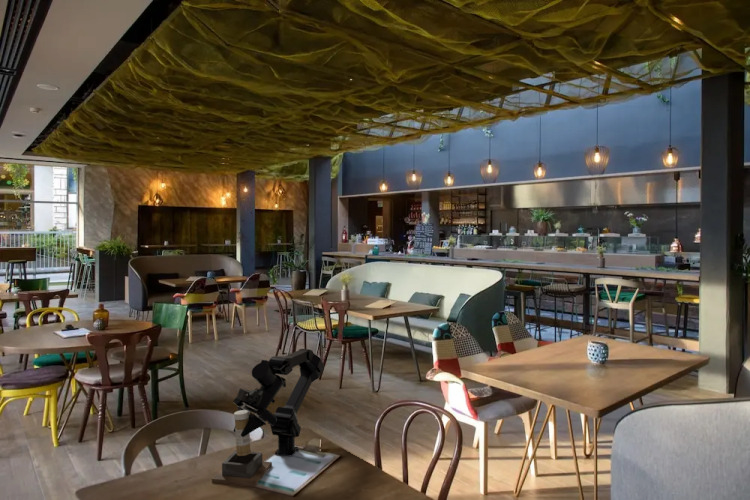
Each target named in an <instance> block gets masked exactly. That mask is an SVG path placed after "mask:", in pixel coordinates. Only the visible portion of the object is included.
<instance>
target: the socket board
mask: <svg viewBox="0 0 750 500" xmlns="http://www.w3.org/2000/svg"><path fill="white" fill-rule="evenodd" d="M236 453H237V449H236V450H234V451H233V452H232V453H231V454H230V455H229V456H228V457H227V458H226V459H225V460H224V461H222V463H221V469H220V470H219V471H218V472H217V473H216V474H215V475H214V476H213V477H212V478H211V483H213V484H214V483H215V484H224V485H232V486H233V485H234V486H242V487H243V486H244V487H254V488H255V487H256V485H257V484H258V483H259V480H260V481H261V479H262V478H264V476H265V475H264V474H266V473H267V472H268V471H269V470H270V469H271V468H272V465H273V462H272V461H265V460H264V461H263V452H257V451H251V453H250V454H248V455H246V456H238V455H237V454H236ZM269 468H270V469H269ZM268 469H269V470H268Z"/></svg>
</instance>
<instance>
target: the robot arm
mask: <svg viewBox="0 0 750 500" xmlns="http://www.w3.org/2000/svg"><path fill="white" fill-rule="evenodd" d="M296 366H299V373H300V376H299V378H298V380H297V382H296V384H295V386H294V387H293V389H292V392H291V393H290V395H289V398H288V399H287V401H286V403H285V405H284V406H277V408H276V409H275V412H274V413H272V412H271V411H270V410H268V407H269V406H270V404H271V403H272V404H274V403H275V402H276V400H275V397H276V396H277V394H278V393H279V391H280V390H281V388H282V387H283V388H286V386H287V383H286V381H287V380H286V378H284V377H282V376H288V375H289V374H291V372H292V371H293V368H295V367H296ZM324 370H325V364H324V361H323V360H322V358H321V357H319V356H318V354H315V353H314V350H312V349H309V348H300V349H298V350H295V351H294V352H292V353H288V354H287V355H281V356H279V355H277V356H276V355H275V356H274V355H273V356H271V357H270V358H269V359H268V360H267V359H261V362H259V363H257V364H256V365H255V366H254V367H253V368H252V370H251V376H252V377H253V378H254V380H255V381H256V382H257V383H258V384H260V387H259V388H257V387H256V388H255V389H251V390H250V389H245V388H239V390H238V392H237V395H236V397H235V398H234V399H233V400H232V403H233V404H234V405H236V406H237V407H236V408H237V411H240V410H247V411H249V421H248V423H247V425H246V426H245V428H244V430H243V431H242V433H241V436H242V437H244V436H246V435H247V434H249V433H252V432H254V431H255V430H257V429H259V428H261V427H263V426H266V425H267V423H268V424H269V425H270V426H269V427H270V429H271V434H272V435H273V436H277V449H276V451H274V455H278V456H288V455H291V456H294V454H295V453H296V452H297V450H298V449H299V446H295V445H296V443H295V441H296V440H295V439H296V438H297V437H299V436H300V434H301V430H302V427H301V425H300V424H299V423H298V415H297V414H298V411H299V409H300V407H301V405H302V403H303V401H304V399H305V397H306V395H307V394H308V392H309V389H310V387H311V385H312V383H314V382H315V381H316V380H318V379H319V378H320V377H321V375H322V373H323V372H324ZM233 432H234V433H235V427H234V428H233ZM295 451H296V452H295ZM291 456H290V457H291Z"/></svg>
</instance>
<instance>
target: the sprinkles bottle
mask: <svg viewBox="0 0 750 500" xmlns="http://www.w3.org/2000/svg"><path fill="white" fill-rule="evenodd" d="M233 419H234V428H235V432H234V433H235V446H236V450H237V453H236V454H237V455H238V456H246V455H248V454H250V453H251V452H252V450H251V435H250V433H249V434H247V435H246V436H244V437H242V436H241V433H242V431H243V430H244V428H245V426H246V425H247V423H248V421H249V411H247V410H240V411H238V410H237V411H235V412H234V413H233Z"/></svg>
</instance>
